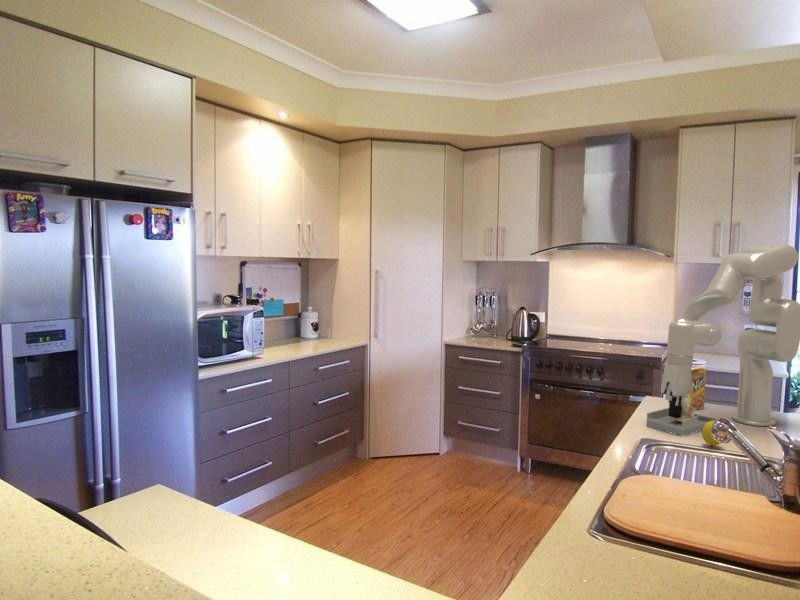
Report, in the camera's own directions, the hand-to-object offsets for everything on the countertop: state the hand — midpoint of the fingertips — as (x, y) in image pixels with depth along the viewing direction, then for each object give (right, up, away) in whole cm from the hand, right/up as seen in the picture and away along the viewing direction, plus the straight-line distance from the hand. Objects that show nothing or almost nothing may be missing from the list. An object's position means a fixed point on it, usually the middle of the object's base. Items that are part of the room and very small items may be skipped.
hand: (674, 416), depth 176 cm
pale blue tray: (+5, -4, +5) cm, 9 cm away
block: (+3, -2, +2) cm, 4 cm away
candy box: (+20, -3, +27) cm, 34 cm away
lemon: (+4, -6, -15) cm, 16 cm away
